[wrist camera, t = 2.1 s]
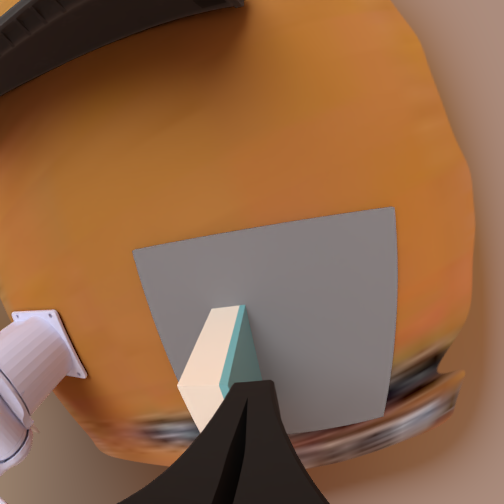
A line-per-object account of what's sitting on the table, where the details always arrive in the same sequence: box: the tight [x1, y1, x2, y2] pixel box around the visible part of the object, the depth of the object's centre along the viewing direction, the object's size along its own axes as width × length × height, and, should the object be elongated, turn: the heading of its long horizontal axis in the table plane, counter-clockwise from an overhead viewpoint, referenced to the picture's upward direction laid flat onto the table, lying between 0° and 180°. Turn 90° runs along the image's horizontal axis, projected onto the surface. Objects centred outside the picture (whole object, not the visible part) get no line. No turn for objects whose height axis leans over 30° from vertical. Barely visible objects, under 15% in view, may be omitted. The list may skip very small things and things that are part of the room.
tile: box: [177, 305, 262, 433], centre depth 16 cm, size 2×10×8 cm, turn 11°
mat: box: [132, 207, 398, 434], centre depth 20 cm, size 18×20×1 cm
